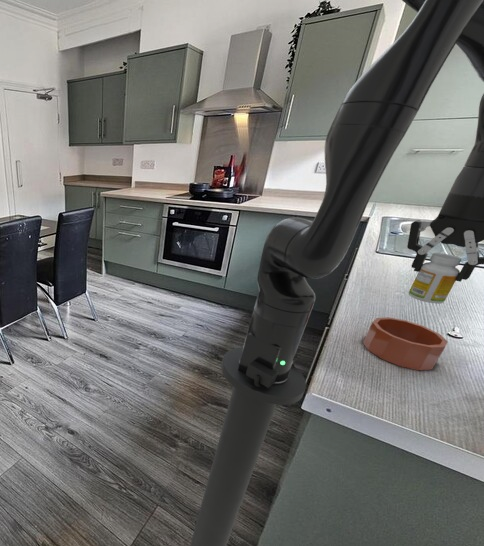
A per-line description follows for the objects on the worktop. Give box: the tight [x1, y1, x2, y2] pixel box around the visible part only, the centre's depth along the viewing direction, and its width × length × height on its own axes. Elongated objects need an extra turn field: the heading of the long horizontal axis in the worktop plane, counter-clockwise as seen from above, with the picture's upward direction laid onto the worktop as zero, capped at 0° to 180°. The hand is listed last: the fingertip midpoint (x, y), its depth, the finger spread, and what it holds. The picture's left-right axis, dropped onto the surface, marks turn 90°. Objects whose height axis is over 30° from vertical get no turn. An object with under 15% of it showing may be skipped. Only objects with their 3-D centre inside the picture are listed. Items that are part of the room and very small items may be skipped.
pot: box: [362, 317, 449, 371], centre depth 70 cm, size 12×12×6 cm
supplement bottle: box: [407, 252, 462, 305], centre depth 65 cm, size 5×5×10 cm
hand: (437, 275), depth 65 cm, fingers closed on supplement bottle, 5 cm apart
